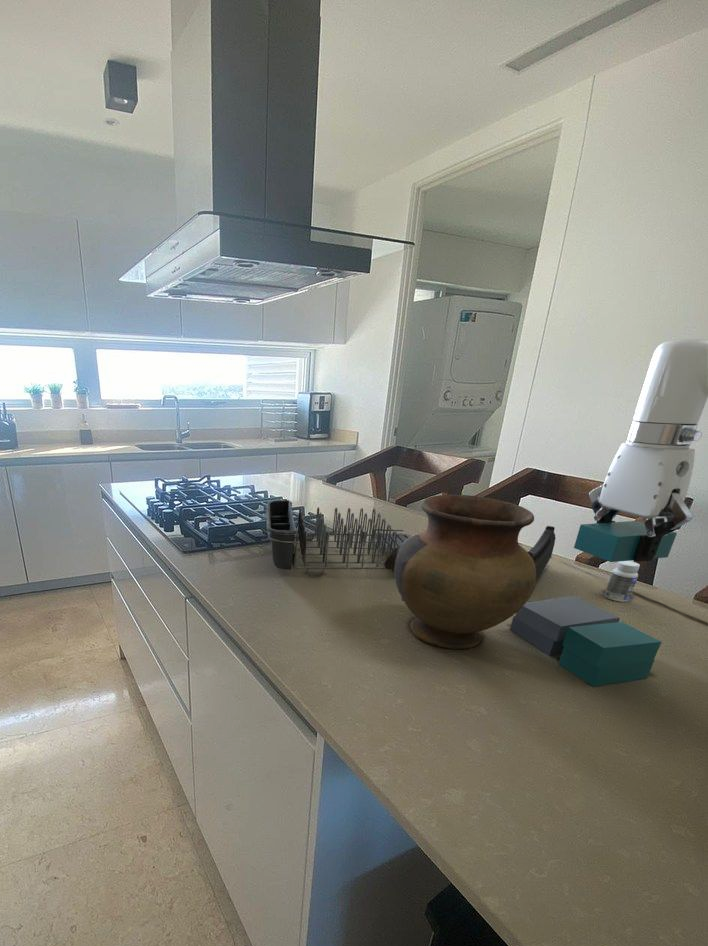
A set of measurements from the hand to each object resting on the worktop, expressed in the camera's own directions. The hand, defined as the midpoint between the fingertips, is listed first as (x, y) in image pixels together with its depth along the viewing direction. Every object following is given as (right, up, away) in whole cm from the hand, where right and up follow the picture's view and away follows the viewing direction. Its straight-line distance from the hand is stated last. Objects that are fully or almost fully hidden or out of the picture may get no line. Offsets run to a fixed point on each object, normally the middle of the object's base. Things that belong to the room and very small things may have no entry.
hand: (620, 551), depth 78 cm
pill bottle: (+23, -7, +32) cm, 40 cm away
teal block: (0, 0, 0) cm, 0 cm away
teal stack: (0, -20, +4) cm, 20 cm away
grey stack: (-1, -15, +14) cm, 21 cm away
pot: (-23, -15, +14) cm, 31 cm away
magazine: (+8, -3, +41) cm, 42 cm away
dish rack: (-34, +3, +53) cm, 63 cm away
